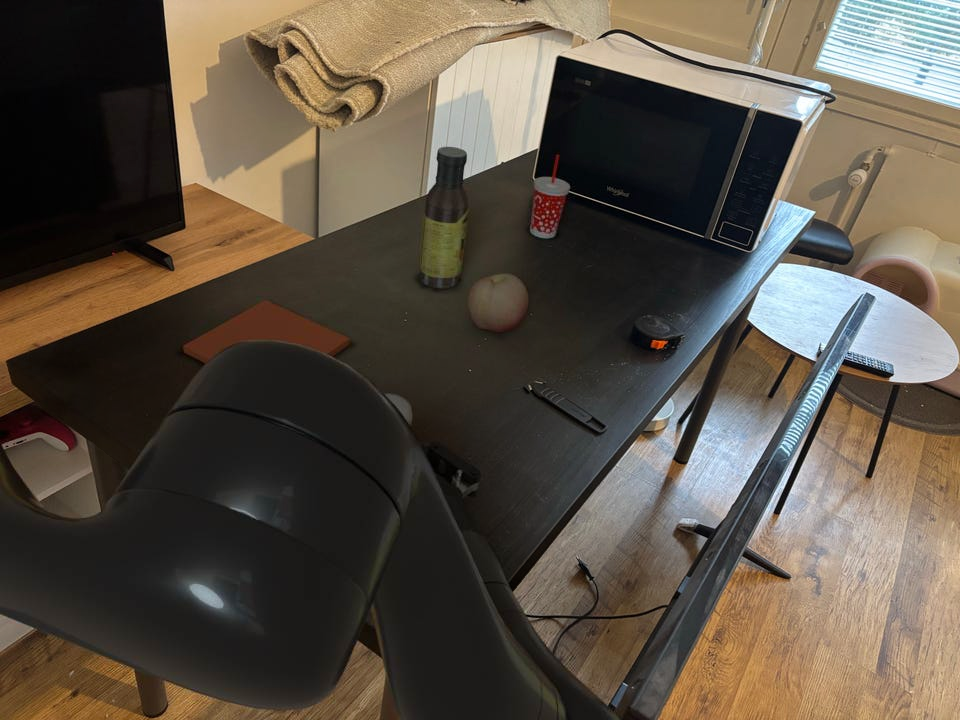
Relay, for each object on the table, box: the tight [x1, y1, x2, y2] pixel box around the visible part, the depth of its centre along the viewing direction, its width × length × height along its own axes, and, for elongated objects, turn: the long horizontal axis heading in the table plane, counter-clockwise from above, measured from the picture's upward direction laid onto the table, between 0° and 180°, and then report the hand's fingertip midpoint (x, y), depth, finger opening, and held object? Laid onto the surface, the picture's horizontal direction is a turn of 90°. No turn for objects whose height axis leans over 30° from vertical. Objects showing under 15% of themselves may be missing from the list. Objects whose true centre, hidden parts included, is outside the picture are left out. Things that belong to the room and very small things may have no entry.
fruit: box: [466, 272, 529, 334], centre depth 100 cm, size 8×8×8 cm
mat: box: [182, 299, 350, 364], centre depth 91 cm, size 14×14×1 cm
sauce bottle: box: [419, 146, 470, 290], centre depth 105 cm, size 6×6×20 cm
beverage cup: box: [529, 154, 571, 239], centre depth 125 cm, size 6×6×14 cm
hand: (375, 429), depth 70 cm, fingers closed on salt shaker, 3 cm apart
